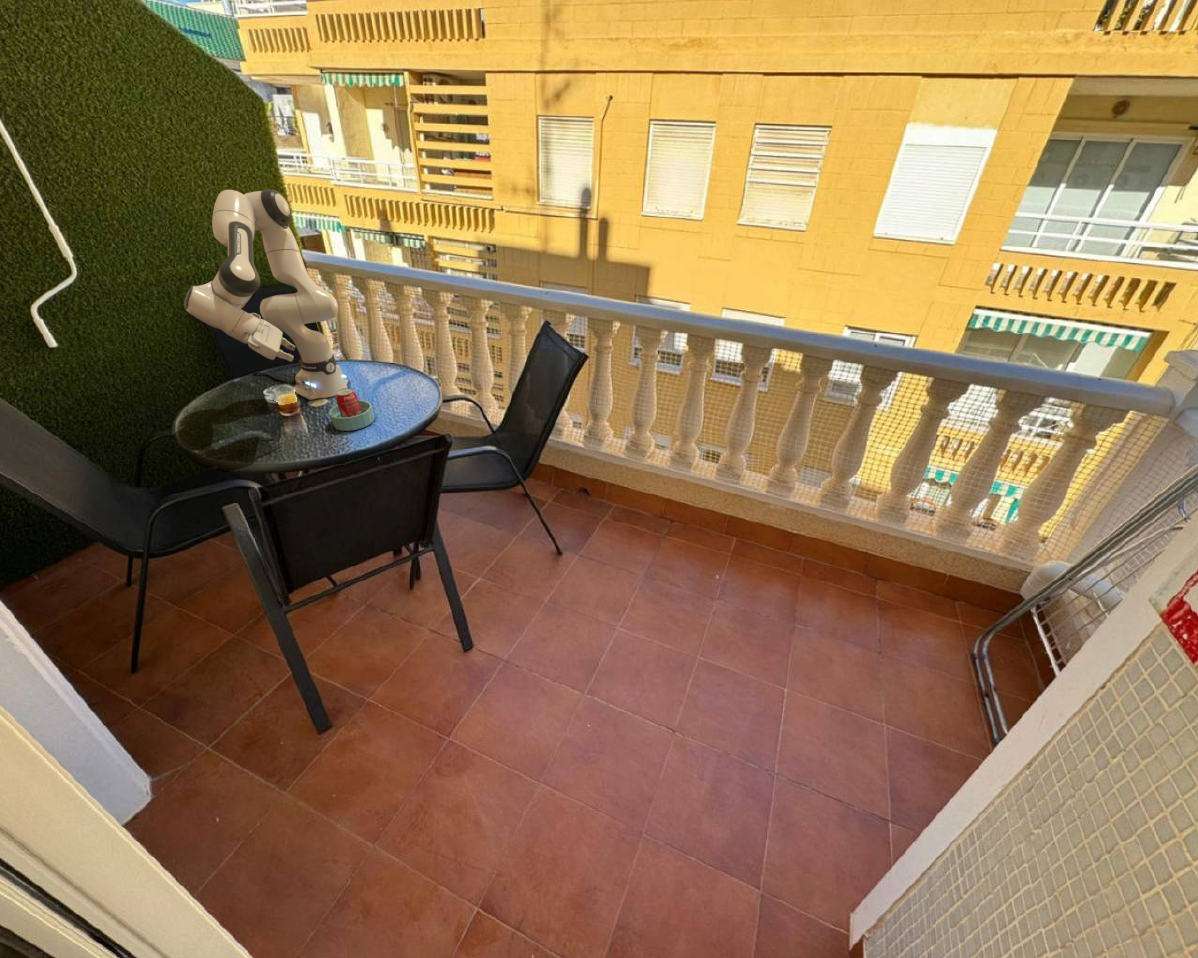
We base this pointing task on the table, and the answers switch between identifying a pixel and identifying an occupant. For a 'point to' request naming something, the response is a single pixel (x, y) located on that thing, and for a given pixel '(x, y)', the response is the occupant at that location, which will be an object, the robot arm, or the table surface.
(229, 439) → the table surface
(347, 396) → the soda can
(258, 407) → the table surface
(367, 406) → the bowl
